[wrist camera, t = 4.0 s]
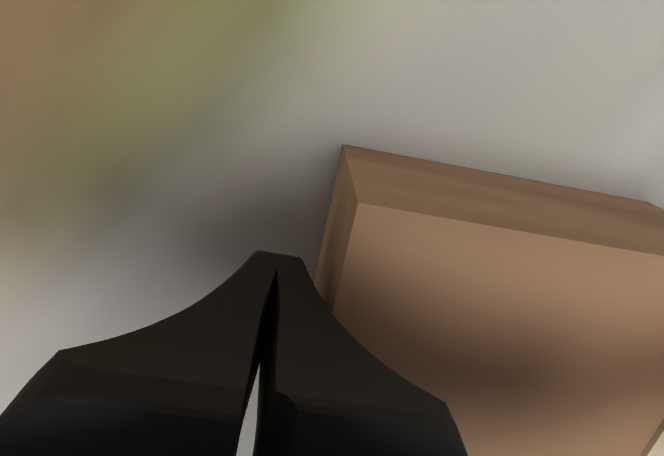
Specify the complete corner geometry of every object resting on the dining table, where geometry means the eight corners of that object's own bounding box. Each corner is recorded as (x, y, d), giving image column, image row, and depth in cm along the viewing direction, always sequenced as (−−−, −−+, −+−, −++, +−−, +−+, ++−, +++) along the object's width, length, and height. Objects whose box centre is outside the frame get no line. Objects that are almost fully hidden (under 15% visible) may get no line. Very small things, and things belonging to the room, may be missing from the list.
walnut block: (551, 391, 17) (639, 524, 13) (297, 357, 16) (291, 489, 12) (647, 201, 14) (810, 284, 10) (342, 143, 13) (359, 205, 8)
